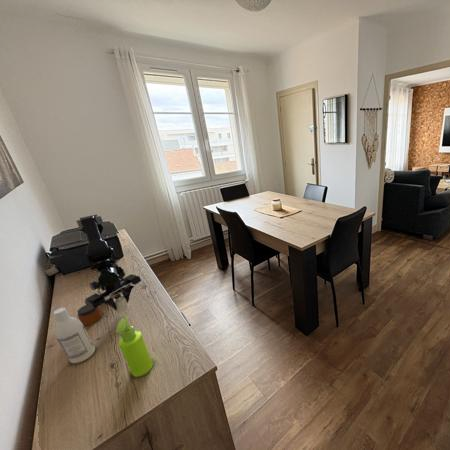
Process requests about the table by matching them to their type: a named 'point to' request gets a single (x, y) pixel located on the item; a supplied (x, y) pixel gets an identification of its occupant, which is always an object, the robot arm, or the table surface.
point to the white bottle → (120, 303)
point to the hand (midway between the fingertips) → (121, 306)
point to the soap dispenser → (134, 349)
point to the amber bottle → (89, 315)
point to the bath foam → (72, 337)
